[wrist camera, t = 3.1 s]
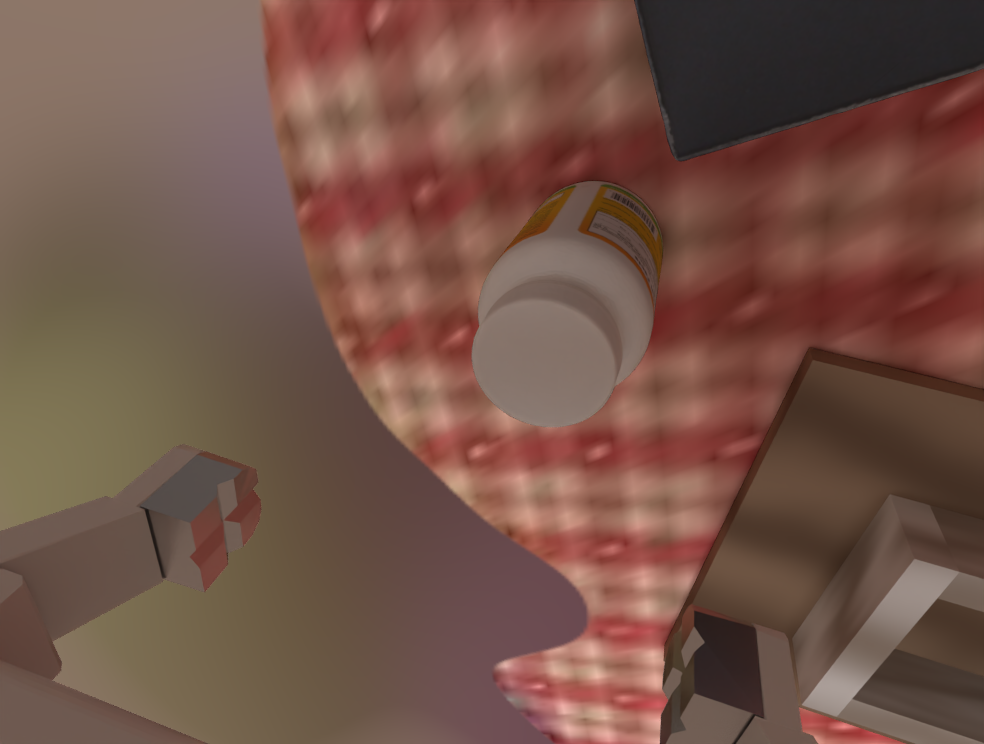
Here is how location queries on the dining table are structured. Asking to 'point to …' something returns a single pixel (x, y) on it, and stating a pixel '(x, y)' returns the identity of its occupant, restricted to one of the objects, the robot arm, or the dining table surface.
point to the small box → (795, 60)
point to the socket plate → (866, 548)
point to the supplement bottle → (569, 305)
